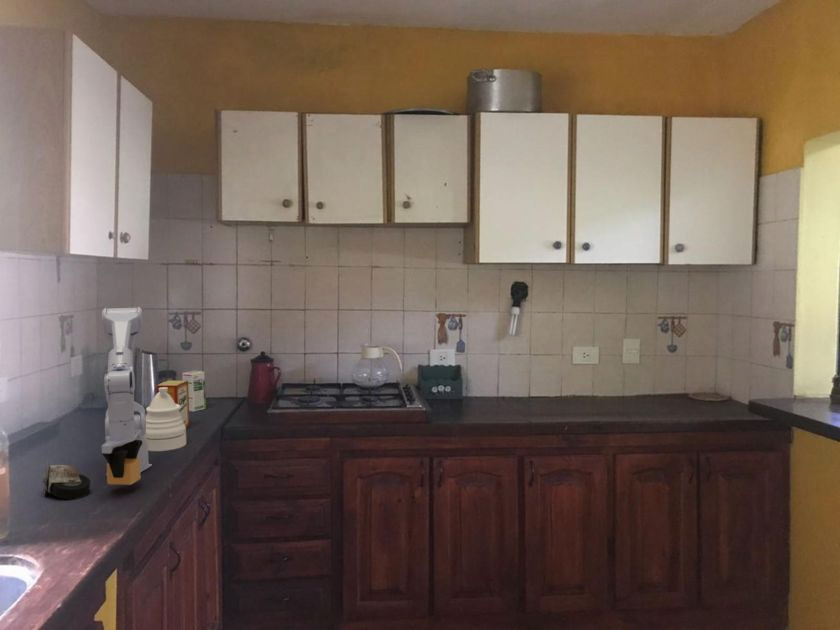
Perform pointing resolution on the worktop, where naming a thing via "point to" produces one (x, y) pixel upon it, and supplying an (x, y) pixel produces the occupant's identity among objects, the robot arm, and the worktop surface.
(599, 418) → the worktop surface
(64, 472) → the caster wheel
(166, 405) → the honey pot
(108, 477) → the block
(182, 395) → the baking soda box
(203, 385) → the syrup box
